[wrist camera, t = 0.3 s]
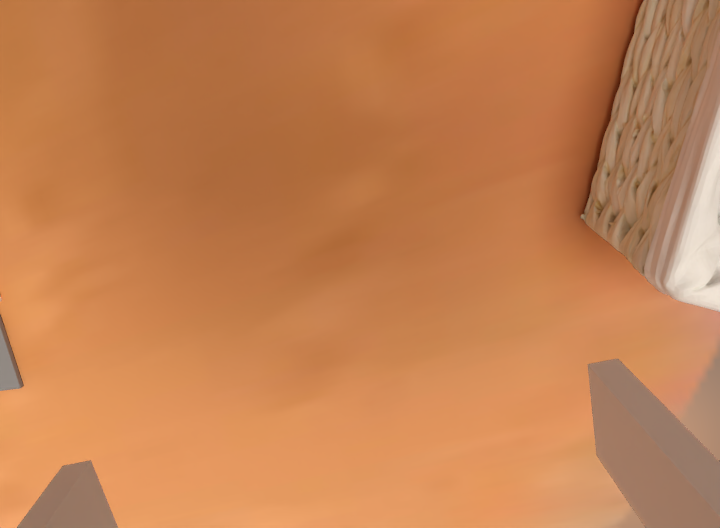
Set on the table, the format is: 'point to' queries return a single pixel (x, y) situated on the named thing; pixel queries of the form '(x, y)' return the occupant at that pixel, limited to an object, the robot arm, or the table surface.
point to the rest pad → (8, 364)
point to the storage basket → (666, 153)
